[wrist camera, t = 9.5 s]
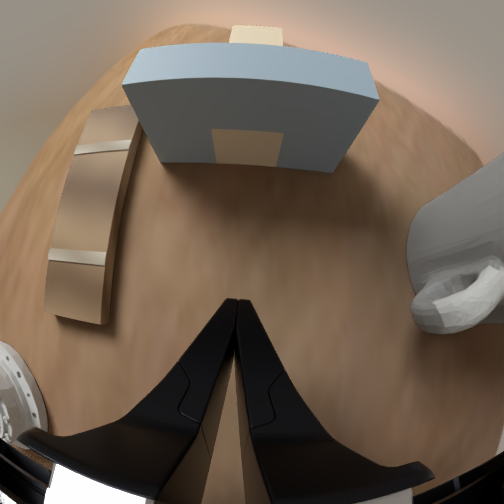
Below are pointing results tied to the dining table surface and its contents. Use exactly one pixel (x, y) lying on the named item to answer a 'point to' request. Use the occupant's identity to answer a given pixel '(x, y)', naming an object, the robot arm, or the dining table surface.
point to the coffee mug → (460, 254)
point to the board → (91, 217)
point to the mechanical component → (18, 398)
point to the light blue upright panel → (250, 101)
